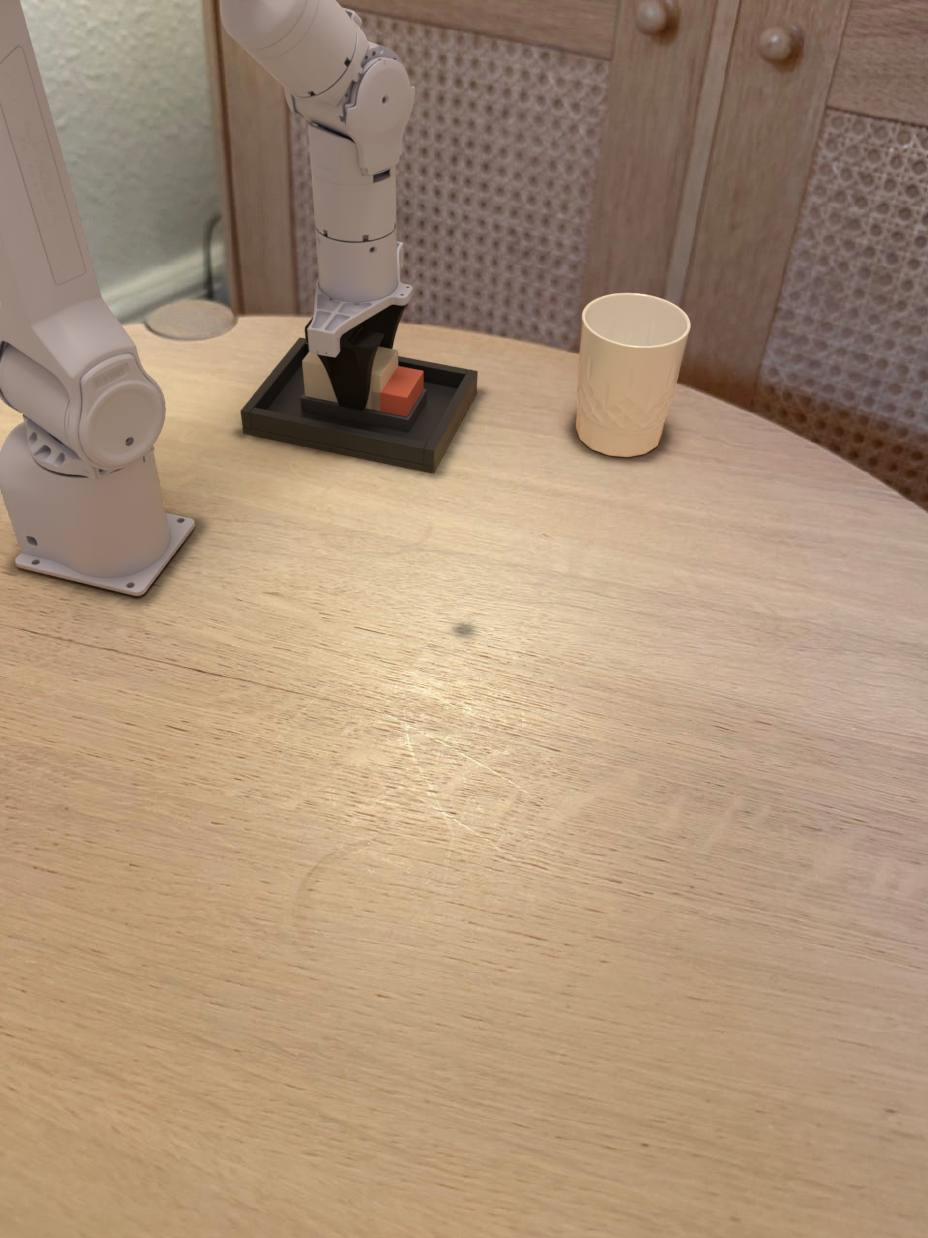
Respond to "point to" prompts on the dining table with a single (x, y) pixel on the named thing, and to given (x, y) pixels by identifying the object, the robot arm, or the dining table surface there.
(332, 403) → the blocks on dark base
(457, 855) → the dining table surface
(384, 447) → the black rectangular tray
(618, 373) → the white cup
